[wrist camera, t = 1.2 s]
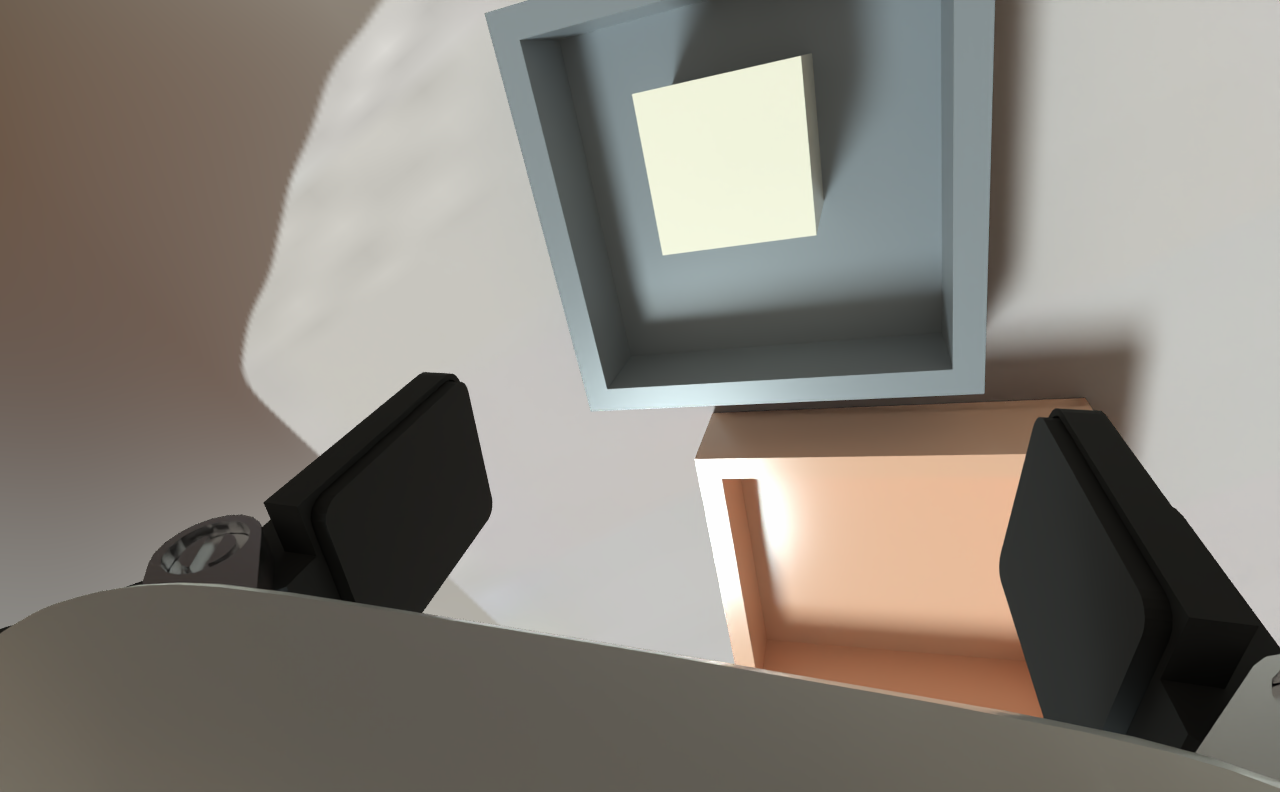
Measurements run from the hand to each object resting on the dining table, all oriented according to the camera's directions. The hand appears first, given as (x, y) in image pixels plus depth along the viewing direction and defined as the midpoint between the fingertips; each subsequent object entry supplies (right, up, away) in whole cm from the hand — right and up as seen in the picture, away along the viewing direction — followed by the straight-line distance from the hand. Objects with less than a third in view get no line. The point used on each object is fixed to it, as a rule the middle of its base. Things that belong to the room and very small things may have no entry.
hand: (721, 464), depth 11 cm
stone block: (+3, +12, +18) cm, 22 cm away
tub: (+13, -7, +26) cm, 30 cm away
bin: (+4, +11, +19) cm, 23 cm away
